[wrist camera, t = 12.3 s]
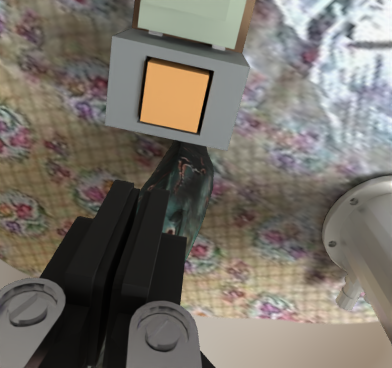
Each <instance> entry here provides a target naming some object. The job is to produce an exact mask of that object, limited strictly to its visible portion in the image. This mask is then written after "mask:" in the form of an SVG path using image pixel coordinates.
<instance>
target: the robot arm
mask: <svg viewBox="0 0 392 368" xmlns="http://www.w3.org/2000/svg"><path fill="white" fill-rule="evenodd" d="M139 194H140V189H136V188H134V183H131V182H126V181H121V180H115V181H114V183H113V185H112V187H111V188H110V190H109V192H108V194H107V196H106V198H105V200H104V201H103V203H102V205H101V207H100V209H99V211H98V213H97V214H96V216H95V218H94V219H91V218H86V217H81V216H79V217H77V219H76V220H75V221H74V223H73V225H72V226H71V228H70V229H69V231H68V233H67V234H66V236H65V237H64V239H63V241H62V242H61V244H60V245H59V247H58V249H57V250H56V252H55V253H54V255H53V257H52V258H51V260H50V262H49V263H48V265H47V266H46V268H45V270H44V271H43V273H42V274H41V276H40V278H26V279H22V280H18V281H15V282H13V283H10V284H8V285H6V286H4V287H3V288H2V289H1V290H0V368H88V366H92V367H96V365H97V362H98V359H99V356H100V353H101V350H102V347H103V343H104V340H105V337H106V341H105V349H104V357H103V365H102V368H215V367H214V366H213V364H212V363H211V362H210V361H209V360H208V359H207V358H206V357H205V355H203V353H202V352H201V351H200V346H199V338H198V330H197V326H196V323H195V320H194V319H193V317H192V316H191V314H190V313H189V312H188V311H187V310H185V309H184V308H183V307H182V306H180V302H181V292H182V283H183V273H184V264H185V255H186V245H187V237H184V236H178V235H173V234H168V233H163V232H162V231H163V226H164V221H165V216H166V211H167V206H168V201H169V196H170V190H165V189H160V188H155V187H153V189H152V192H151V191H146V190H145V192H144V195H143V198H142V200H141V203H140V206H139V209H138V212H137V207H138V200H139ZM136 214H137V215H136ZM322 239H323V244H324V246H325V249H326V251H327V253H328V255H329V257H330V259H331V260H332V261H333V262H334V263H335V264H336V265H337V266H339V267H340V268H342V269H343V270H345V271H346V272H347V275H346V277H345V282H346V284H345V286H344V287H342V289H341V291H340V293H339V294H338V296H337V298H336V303H337V304H338V305H339V306H340V307H341V308H342V309H344V310H352V308H353V307H354V305H355V304H356V302H357V300H358V299H359V295H360V294H361V292H365V295H364V300H365V301H366V302H367V303H369V304H371V306H372V308H373V310H374V312H375V313H376V315H377V317H378V319H379V321H380V323H381V325H382V327H383V329H384V331H385V332H386V334H387V336H388V338H389V340H390V342H391V344H392V175H391V176H382V177H378V178H374V179H371V180H368V181H366V182H364V183H361V184H359V185H357V186H356V187H354V188H352V189H351V190H349V191H348V192H346V193H345V194H344V195H343V196H342V197H340V198H339V199H338V200H337V201H336V203H335V204H334V205H333V206H332V207H331V209H330V211H329V212H328V214H327V216H326V218H325V221H324V224H323V229H322Z"/></svg>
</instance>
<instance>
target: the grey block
mask: <svg viewBox="0 0 392 368" xmlns="http://www.w3.org/2000/svg"><path fill="white" fill-rule="evenodd" d="M147 56H151V57H155V58H159V59H164V60H168V61H173V62H177V63H182V64H186V65H191V66H195V67H200V68H204V69H208V70H213V71H214V73H213V77H212V82H211V86H210V91H209V95H208V99H207V104H206V108H205V113H202V112H201V115H200V119H199V124H198V128H197V133H195V132H190V131H185V130H180V129H176V128H171V127H166V126H162V125H157V124H152V123H147V122H143V121H140V119H141V111H142V104H143V100H141V96H142V88H143V81H144V73H145V66H146V58H147ZM249 70H250V66H249V64H248V63H247V61H246V59H245V58H244V56H243V54H242V53H239V52H234V51H230V50H226V49H225V51H223V50H219V49H214V48H212V46H208V45H204V44H199V43H195V42H191V41H186V40H182V39H178V38H173V37H169V36H164V35H163V36H157V35H153V34H149V32H147V31H143V30H138V29H134V28H131V29H128V30H126V31H123V32H121V33H118V34H116V35H114V36H112V44H111V56H110V68H109V80H108V92H107V103H106V115H105V125H106V126H111V127H116V128H120V129H125V130H130V131H135V132H140V133H144V134H149V135H154V136H159V137H164V138H168V139H173V140H178V141H183V142H188V143H192V144H197V145H202V146H207V147H212V148H216V149H221V150H226V151H227V150H228V146H229V142H230V139H231V135H232V132H233V128H234V124H235V121H236V117H237V113H238V110H239V106H240V102H241V99H242V95H243V92H244V88H245V84H246V81H247V77H248V73H249Z"/></svg>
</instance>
